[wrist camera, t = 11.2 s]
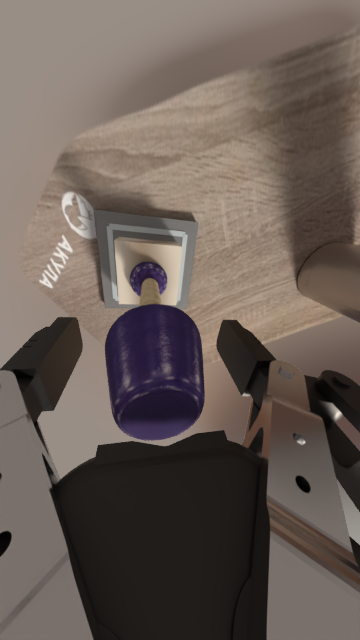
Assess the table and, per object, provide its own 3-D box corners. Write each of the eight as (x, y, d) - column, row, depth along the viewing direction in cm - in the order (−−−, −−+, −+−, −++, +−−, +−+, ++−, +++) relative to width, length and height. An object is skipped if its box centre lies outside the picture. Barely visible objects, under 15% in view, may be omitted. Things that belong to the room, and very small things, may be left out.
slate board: (196, 222, 22) (198, 222, 21) (185, 306, 28) (186, 309, 27) (95, 209, 20) (93, 209, 19) (106, 304, 26) (105, 308, 25)
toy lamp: (117, 278, 19) (48, 441, 5) (145, 245, 18) (157, 334, 4) (150, 304, 21) (168, 467, 7) (177, 276, 20) (259, 404, 6)
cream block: (176, 242, 22) (182, 246, 19) (172, 293, 26) (176, 305, 22) (119, 236, 21) (114, 240, 17) (122, 292, 24) (118, 304, 21)
